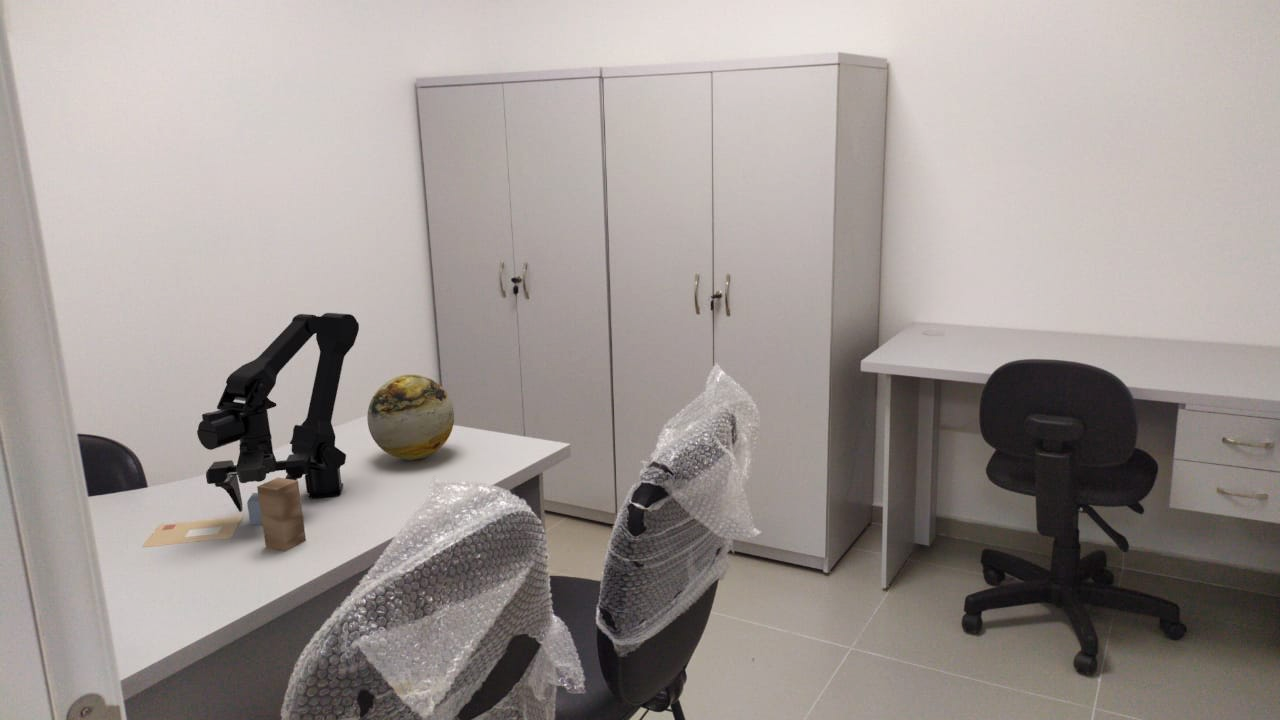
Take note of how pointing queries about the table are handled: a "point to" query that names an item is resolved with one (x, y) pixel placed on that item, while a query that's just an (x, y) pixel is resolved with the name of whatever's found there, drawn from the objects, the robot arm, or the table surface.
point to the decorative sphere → (410, 417)
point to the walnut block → (281, 513)
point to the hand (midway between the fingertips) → (265, 508)
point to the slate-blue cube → (254, 509)
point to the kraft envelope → (193, 531)
